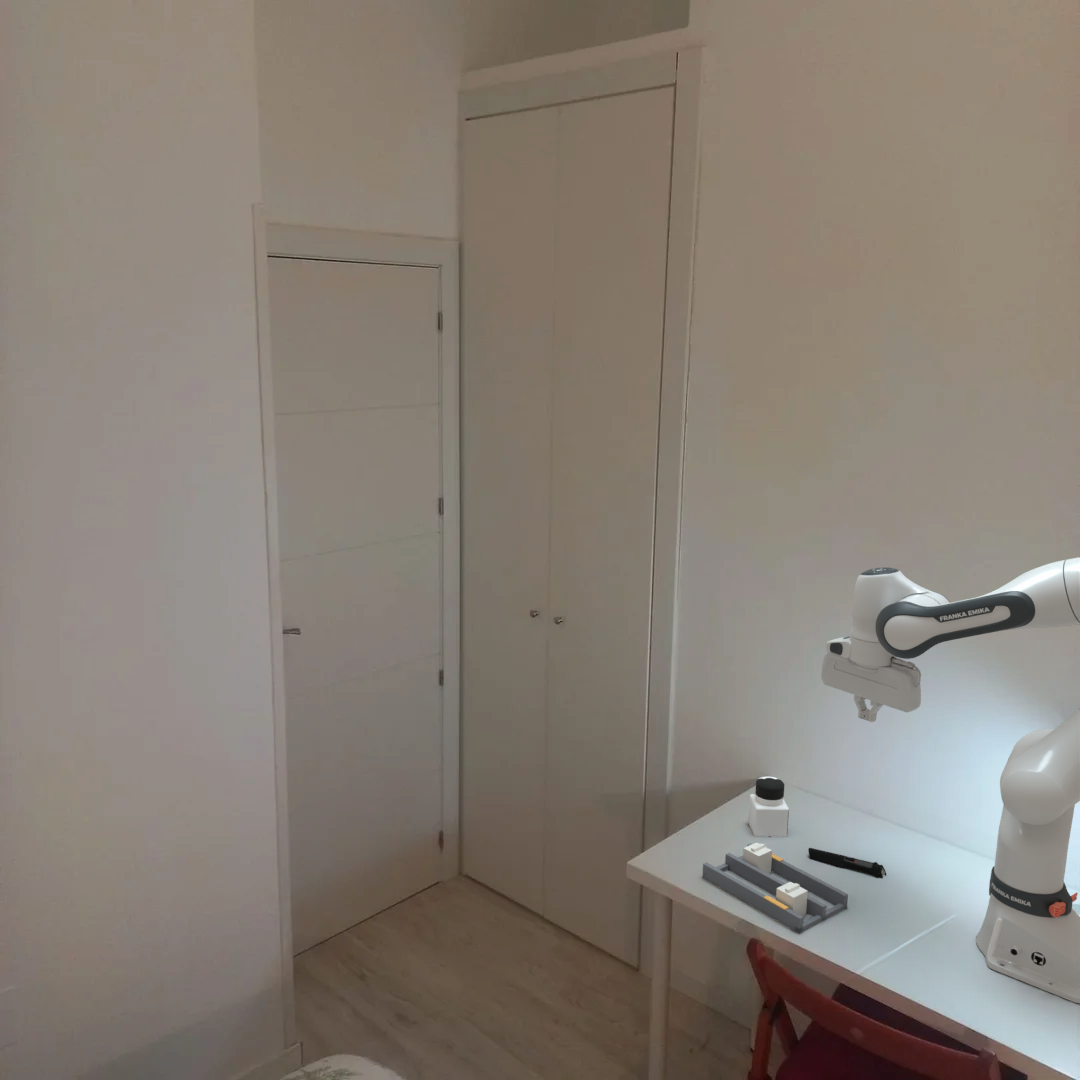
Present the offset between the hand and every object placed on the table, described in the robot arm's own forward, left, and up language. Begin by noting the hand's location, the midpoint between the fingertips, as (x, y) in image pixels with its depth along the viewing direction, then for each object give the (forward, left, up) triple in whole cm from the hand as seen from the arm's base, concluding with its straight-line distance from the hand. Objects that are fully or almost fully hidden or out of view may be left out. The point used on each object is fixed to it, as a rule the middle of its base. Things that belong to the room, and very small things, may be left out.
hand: (866, 719), depth 198 cm
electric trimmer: (+3, -3, -35) cm, 35 cm away
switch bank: (+6, +17, -34) cm, 39 cm away
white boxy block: (-1, +21, -33) cm, 39 cm away
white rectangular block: (+13, +14, -33) cm, 39 cm away
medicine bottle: (+24, -2, -34) cm, 42 cm away
